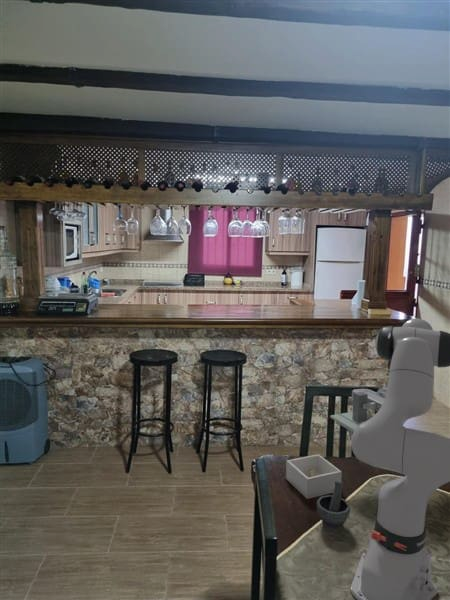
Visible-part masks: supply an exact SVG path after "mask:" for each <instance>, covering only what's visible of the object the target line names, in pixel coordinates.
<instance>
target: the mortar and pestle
mask: <svg viewBox="0 0 450 600" xmlns="http://www.w3.org/2000/svg"><path fill="white" fill-rule="evenodd" d="M344 485H345V484H344V483H343V482H342V481H341V482H339V481H335V487H334V491H333V493H332V495H330V494H326V495H321V496H319V498H318V499H317V501H316V510H317V513H318V516H319V517H320V519H321V525H322V526H323V528H324V529H325V530H327V531H328V532H333V533H337V532H338V533H339V532H340V531H342V530H343V528H344V524H345V523H346V522H347V519H348V518H349V516H350V513H351V506H350V504H349V501H347V500H346V499H344V498H343V497H342V495H343V488H344V487H345V486H344Z"/></svg>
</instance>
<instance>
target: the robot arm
mask: <svg viewBox="0 0 450 600" xmlns="http://www.w3.org/2000/svg"><path fill="white" fill-rule="evenodd" d="M374 345H375V350H376V354H377V355H378V357H380V359H383V360H384V361H387V369H388V371H389V373H388V379H387V381H388V382H387V386H386V387H381V388H379V389H377V391H374V390H372V389H368V388H357V389H356V388H355V389H353V390H351V399H352V400H353V393H357V392H364V393H366V394H368V400H367V403H361V407H362V408H363V409H367V410H375V411H376V413H375V414H374V415H372V416H373V417H372V418H370V419H369V420H367V421H365V422H363V423H361V424H360V425H359V426H357V427H356V429H355V430H354V432H352V434H351V437H350V438H351V441H350V445H351V450H352V453H353V454H354V456H355V458H356V459H357V460H359V461H360V462H362V463H365V464H367V465H369V466H371V467H374V468H378V469H381V470H385V471H386V470H387V471H392V472H394V473H396V472H397V473H400V474H402V475H404V476H402V477H400V478H397V479H393V480H389V481H387V482H386V483H384V484H383V485H382V486H381V487H380V489H379V491H378V500H377V501H378V503H377V514H376V515H375V521H374V525H373V530H371V534H370V535H371V536H370V540H369V543H368V545H367V546H368V547H367V549H365V552H363V553H362V554H361V557H360V560H359V563H358V565H357V569H356V571H355V574H354V577H353V579H352V582H351V585H350V593H351V595H353V597H354V598H355V599H356V600H432V599H433V598H434V597H435V596H436V595H438V588H437V585H436V584H435V583H434V582H433V581H432V557H431V555H430V553H429V551H428V549H427V547H426V543H427V542H426V540H427V529H426V526H425V524H426V523H425V522H426V513H427V508H428V503H429V500H430V498H431V496H432V495H433V494H434V493H435V492H436V491H437V489H439V488H441V487H442V486H443V485H445V484H448V483H450V438H449V437H446V436H444V435H441V434H437V433H436V432H430V431H425V430H419V429H413V428H407V427H405V426H404V424H405V423H406V422H407V421H408V420H410V419H412V418H417V417H419V416H420V417H421V416H423V415H425V414H427V413H428V412H429V411H430V410H431V408H432V406H433V398H434V397H433V396H434V382H435V381H434V380H435V367H437V368H447V367H450V333H449V332H447V331H445V330H444V331H443V330H439V331H438V330H434V329H433V327H432V325H431V324H430V323H429V322H428V321H427V320H425V319H423V318H411V319H408V320H407V321H405V322H404V323H403V325H402V326H394V325H388V326H387V325H386V326H383V327H382V328H380V329H379V330H378V333H377V335H376V337H375V342H374Z"/></svg>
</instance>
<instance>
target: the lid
mask: <svg viewBox="0 0 450 600" xmlns="http://www.w3.org/2000/svg"><path fill="white" fill-rule="evenodd" d="M367 400H368V394H366V393H364V392H357V393H353V399H352V411H349V412H348V411H347V412H344V413H343V412H342V413H337V414H331V415H329V416H330V417H329V418H330V419H332V420H334V421H335V422H336V423H337V424H338V425H340V426H342V427H343V428H345V429H347V430H348V431H349V432H351V433H353V432H354V430H355V429H356V427H357V426H359V425H360V424H361V423H363V422H365V421H367V420H369V419H370V418H372V417H373V416H374V415H373V414H370V413H368V408H367V409H363V408H362V407H361V403H367Z"/></svg>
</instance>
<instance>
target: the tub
mask: <svg viewBox="0 0 450 600" xmlns="http://www.w3.org/2000/svg"><path fill="white" fill-rule="evenodd" d="M285 463H286V465H285V467H286V468H285V479H286V480H287V481H288V482H289V484H291V485H292V486H293V487H294V488H295V489H297V491H298V492H299V493H300V494H301V495H303V497H305V499H308V500H309V499H312V498H315V497H322V496H326V495H330V494H333V491H334V487H335V481H339V482H342V477H343V476H342V475H343V474H342V473H343V471H342V470H340V469H339V468H337V467H336V466H335V465H333V463H331V462H330V461H328V459H325V457H323V456H321V455H320V454H319V453H317V454H312V455H308V456H303V457H297V458H292V459H288V460H287V459H286V462H285Z"/></svg>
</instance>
